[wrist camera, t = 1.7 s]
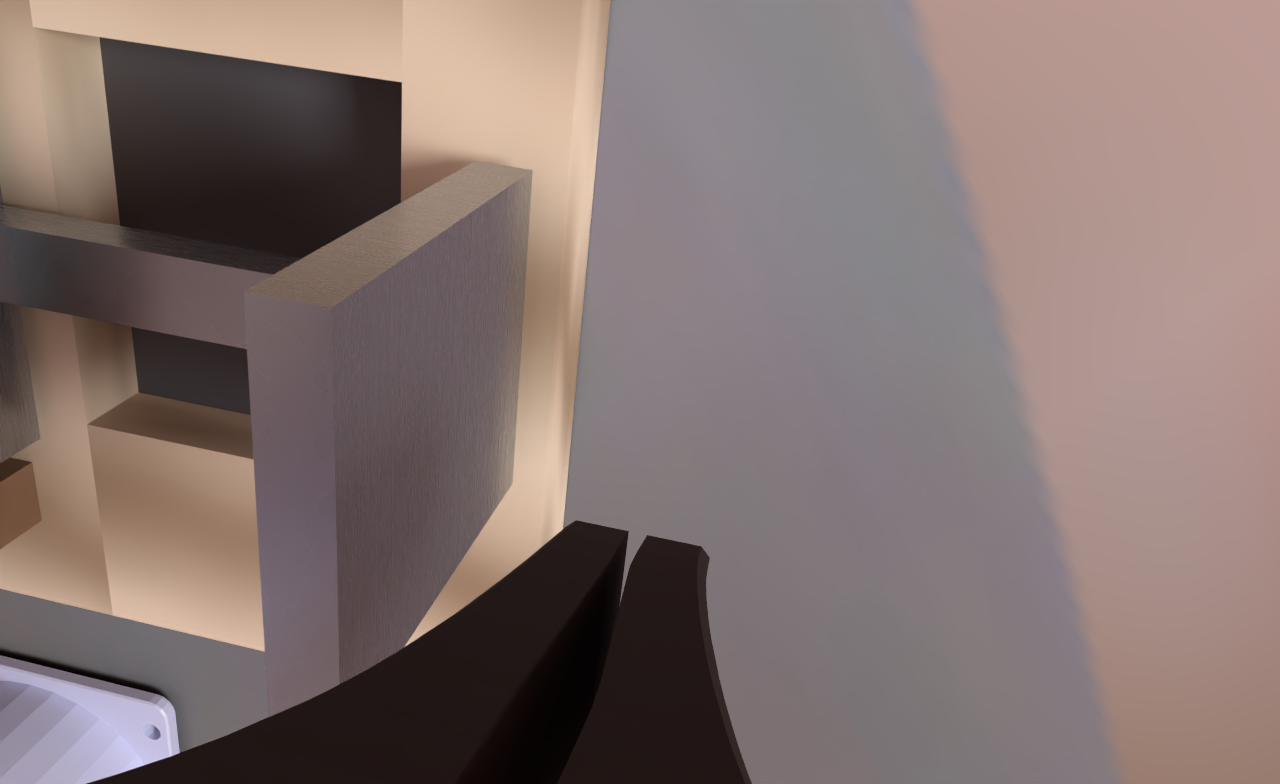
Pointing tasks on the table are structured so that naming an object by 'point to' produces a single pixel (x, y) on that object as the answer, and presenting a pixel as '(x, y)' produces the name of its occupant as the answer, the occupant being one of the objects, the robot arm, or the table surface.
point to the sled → (325, 393)
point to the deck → (276, 223)
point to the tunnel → (17, 499)
